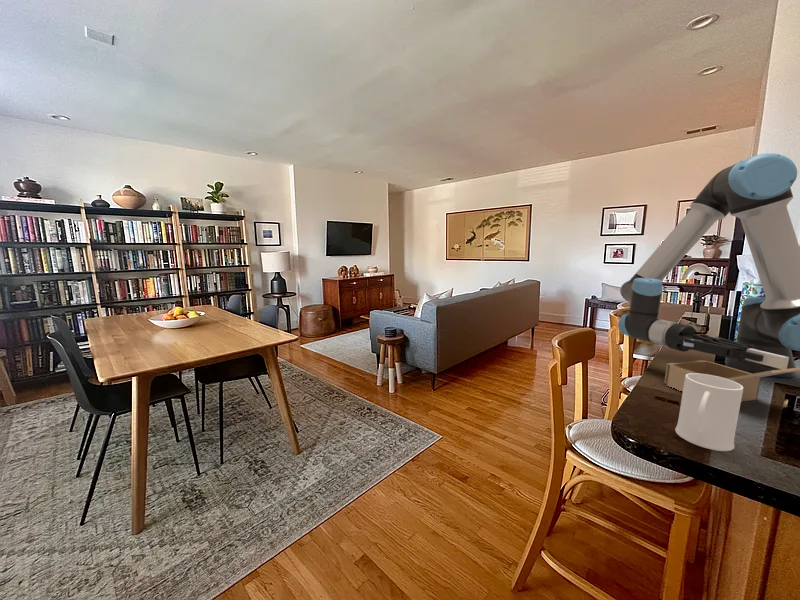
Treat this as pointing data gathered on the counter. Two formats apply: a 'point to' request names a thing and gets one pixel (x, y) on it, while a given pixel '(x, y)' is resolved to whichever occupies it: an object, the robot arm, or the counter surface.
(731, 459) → the counter surface
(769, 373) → the flap
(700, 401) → the mug
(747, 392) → the carton
